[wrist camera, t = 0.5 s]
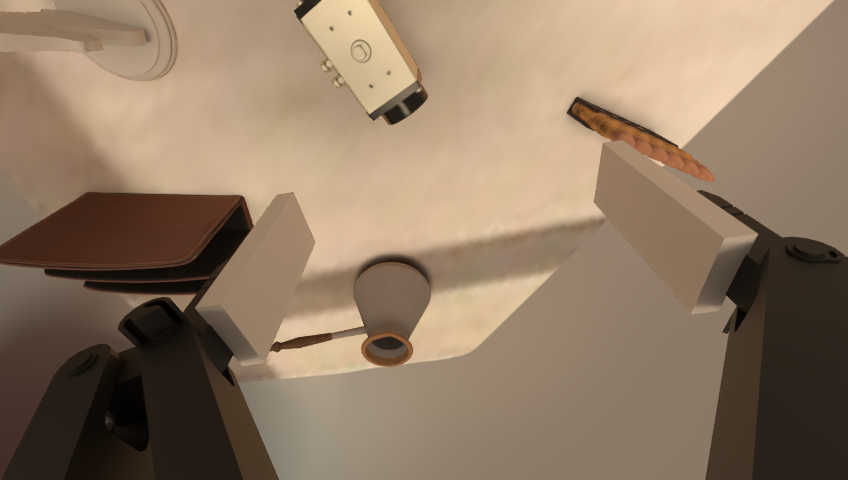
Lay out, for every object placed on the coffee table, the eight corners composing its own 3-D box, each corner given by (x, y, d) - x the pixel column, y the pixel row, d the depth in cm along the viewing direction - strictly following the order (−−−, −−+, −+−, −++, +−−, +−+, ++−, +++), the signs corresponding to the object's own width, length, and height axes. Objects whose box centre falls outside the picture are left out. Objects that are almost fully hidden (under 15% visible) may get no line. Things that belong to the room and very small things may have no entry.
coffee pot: (437, 258, 50) (443, 342, 37) (422, 311, 56) (423, 397, 44) (289, 235, 47) (243, 318, 35) (291, 293, 53) (253, 380, 41)
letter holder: (87, 190, 43) (-35, 260, 31) (244, 194, 43) (181, 263, 32) (125, 252, 49) (34, 330, 37) (263, 255, 49) (216, 332, 38)
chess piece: (186, 89, 36) (65, 134, 24) (84, 68, 35) (-100, 104, 22) (165, -25, 30) (-6, -43, 18) (43, -56, 29) (-231, -97, 17)
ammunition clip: (652, 131, 39) (731, 175, 29) (641, 146, 40) (713, 193, 30) (576, 96, 37) (633, 131, 27) (566, 112, 38) (617, 152, 28)
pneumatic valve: (357, -44, 30) (326, -66, 20) (428, 78, 35) (431, 107, 26) (311, -2, 31) (262, -3, 22) (386, 107, 37) (374, 146, 27)
